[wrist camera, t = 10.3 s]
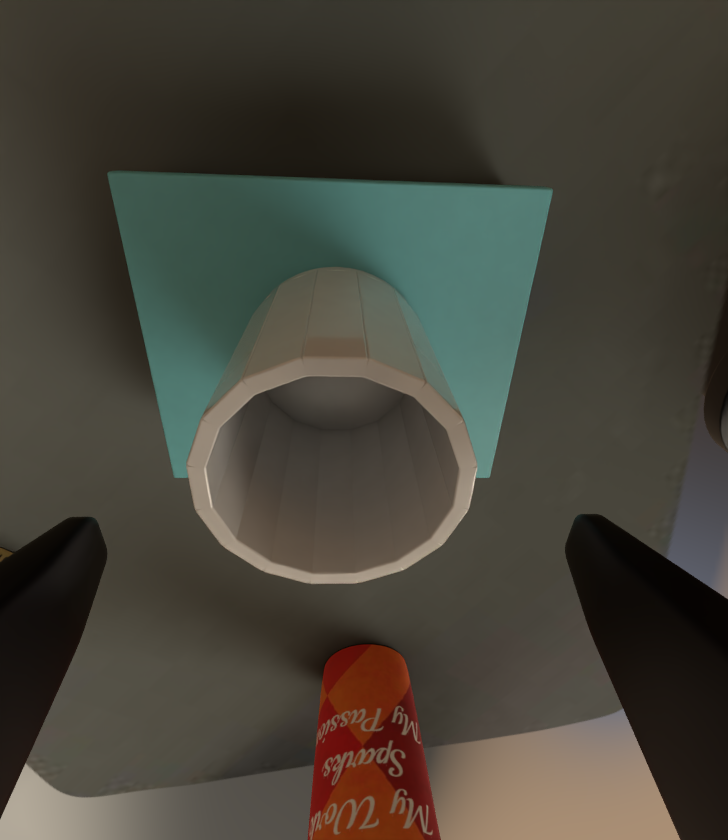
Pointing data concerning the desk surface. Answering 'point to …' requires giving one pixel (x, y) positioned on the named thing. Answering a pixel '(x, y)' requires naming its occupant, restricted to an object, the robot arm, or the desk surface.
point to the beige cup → (332, 436)
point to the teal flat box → (327, 247)
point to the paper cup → (369, 752)
